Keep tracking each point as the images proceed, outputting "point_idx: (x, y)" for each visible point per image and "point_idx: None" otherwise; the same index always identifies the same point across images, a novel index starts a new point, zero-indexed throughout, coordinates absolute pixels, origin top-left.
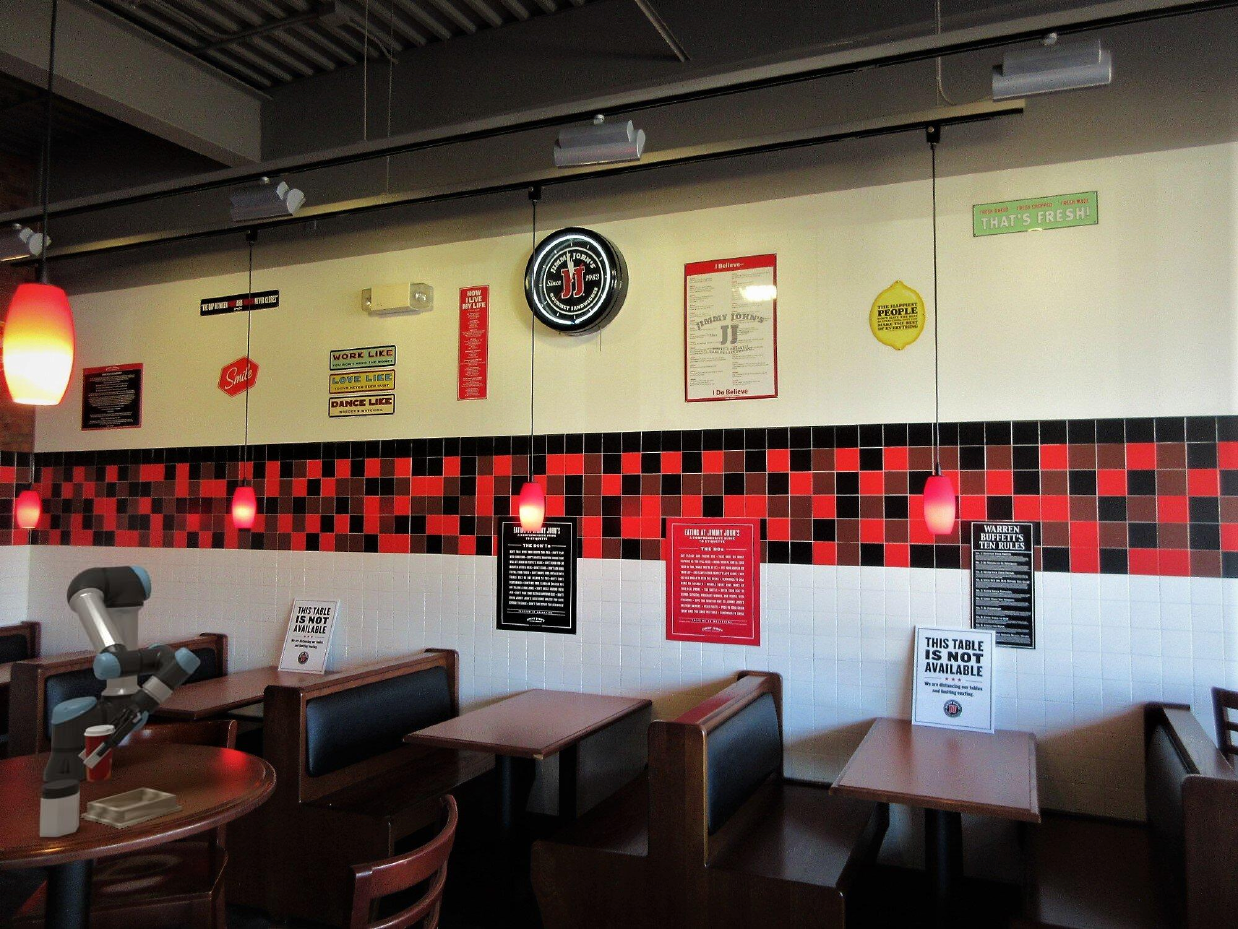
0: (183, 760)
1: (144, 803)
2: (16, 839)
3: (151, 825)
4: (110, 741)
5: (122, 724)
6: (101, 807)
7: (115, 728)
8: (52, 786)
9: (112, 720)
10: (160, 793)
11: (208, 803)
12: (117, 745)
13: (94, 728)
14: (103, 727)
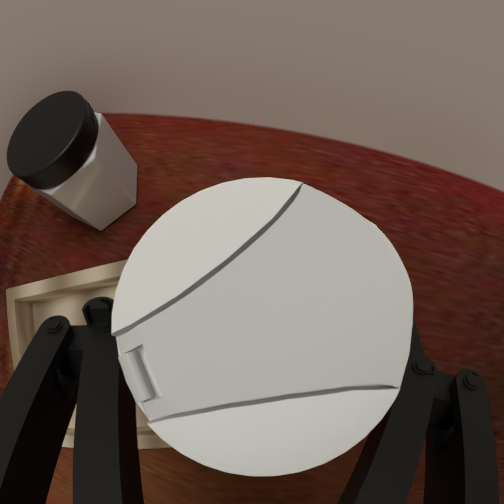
0: None
1: (19, 359)
2: (135, 122)
3: (3, 345)
4: (40, 326)
5: (78, 499)
6: (70, 273)
7: (349, 492)
8: (40, 111)
9: (480, 494)
10: (70, 436)
11: (61, 497)
12: (59, 372)
13: (286, 265)
14: (255, 366)
